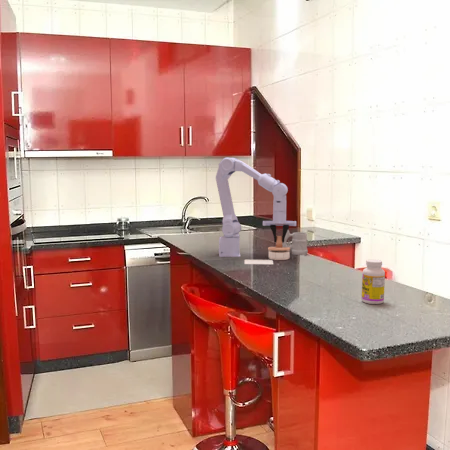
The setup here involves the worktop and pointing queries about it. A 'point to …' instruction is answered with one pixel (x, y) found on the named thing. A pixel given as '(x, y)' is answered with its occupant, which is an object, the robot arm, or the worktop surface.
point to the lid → (279, 245)
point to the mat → (258, 262)
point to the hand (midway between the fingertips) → (279, 242)
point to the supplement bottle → (373, 282)
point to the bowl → (279, 255)
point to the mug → (297, 243)
